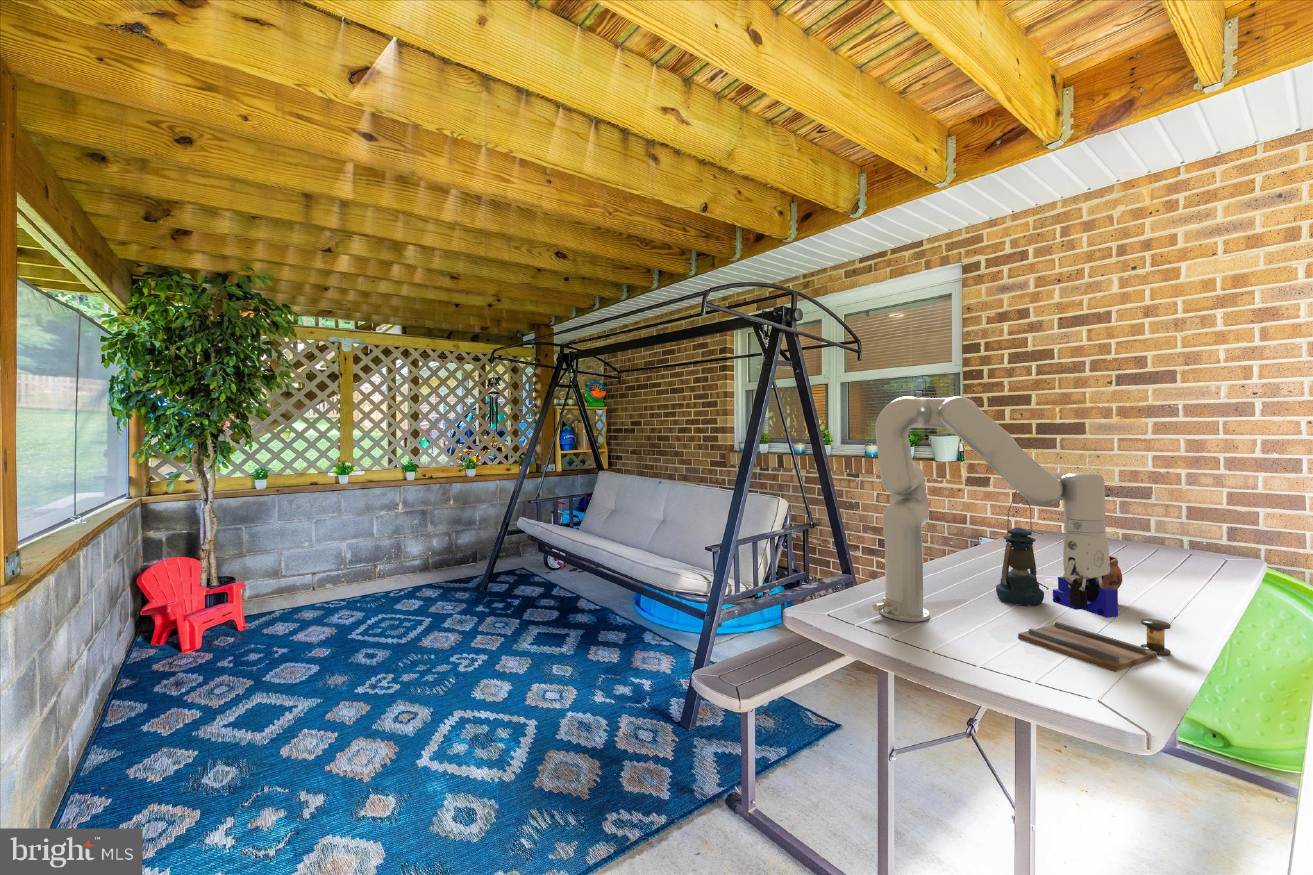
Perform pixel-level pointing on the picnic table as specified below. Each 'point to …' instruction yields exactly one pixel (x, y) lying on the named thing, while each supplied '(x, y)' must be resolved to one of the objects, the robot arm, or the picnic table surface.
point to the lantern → (1019, 569)
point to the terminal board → (1088, 646)
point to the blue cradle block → (1101, 606)
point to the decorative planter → (1111, 575)
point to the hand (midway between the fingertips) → (1086, 603)
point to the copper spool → (1156, 636)
